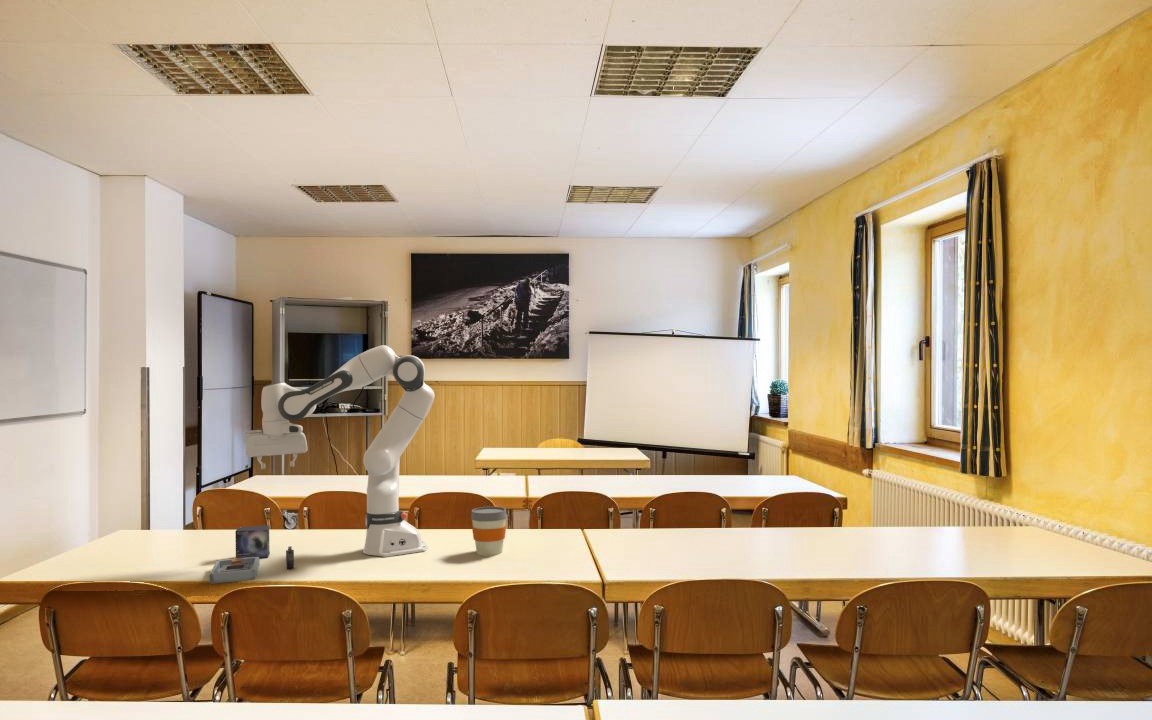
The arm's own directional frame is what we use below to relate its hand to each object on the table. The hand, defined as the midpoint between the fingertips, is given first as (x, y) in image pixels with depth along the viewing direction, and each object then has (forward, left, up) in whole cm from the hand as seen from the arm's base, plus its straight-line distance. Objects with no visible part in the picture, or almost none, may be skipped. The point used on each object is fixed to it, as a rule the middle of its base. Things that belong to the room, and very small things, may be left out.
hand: (277, 467), depth 264 cm
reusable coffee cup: (-70, +23, -32) cm, 80 cm away
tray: (+12, +18, -31) cm, 38 cm away
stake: (-4, +18, -31) cm, 36 cm away
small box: (+9, -3, -32) cm, 33 cm away
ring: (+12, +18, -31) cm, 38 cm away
